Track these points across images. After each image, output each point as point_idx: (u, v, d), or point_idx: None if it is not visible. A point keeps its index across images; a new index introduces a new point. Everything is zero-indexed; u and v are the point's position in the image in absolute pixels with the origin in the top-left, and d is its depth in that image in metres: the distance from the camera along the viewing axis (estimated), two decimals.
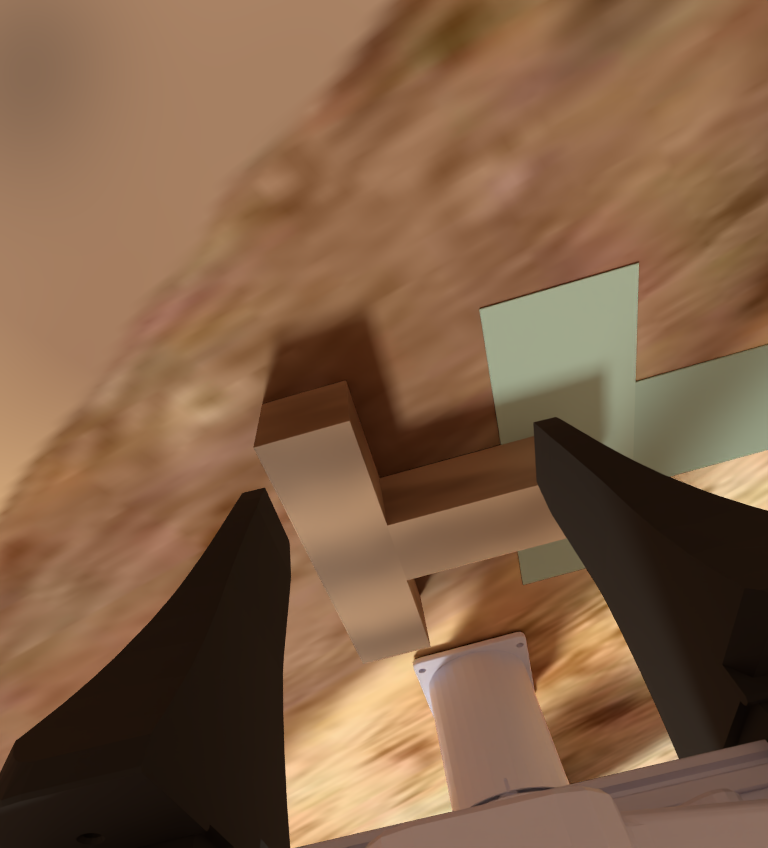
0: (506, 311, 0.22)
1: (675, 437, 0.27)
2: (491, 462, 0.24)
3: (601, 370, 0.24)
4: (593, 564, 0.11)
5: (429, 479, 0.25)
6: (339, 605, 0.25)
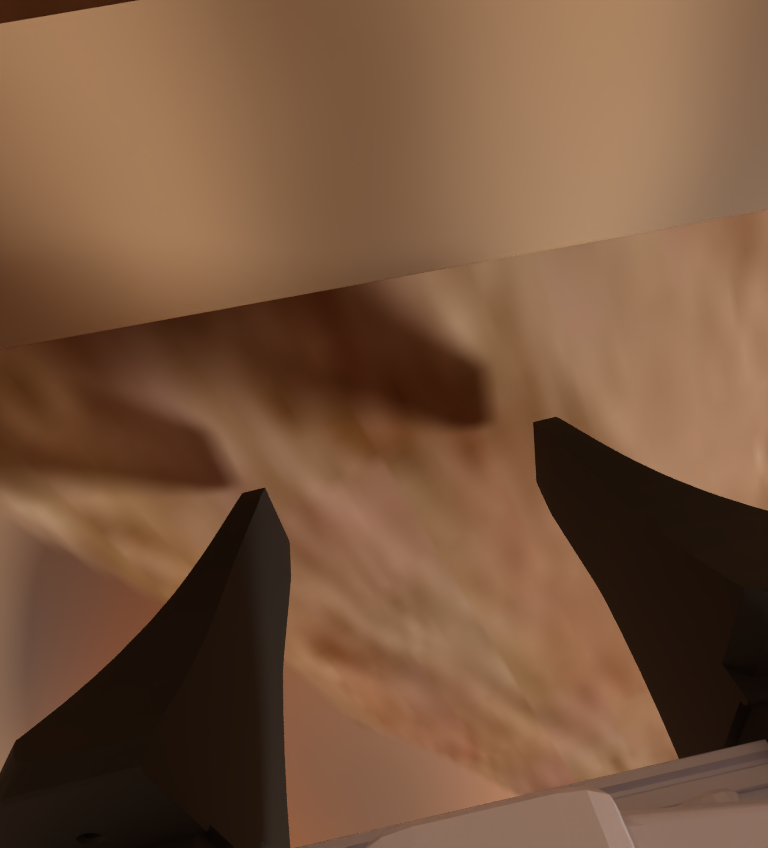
0: None
1: None
2: None
3: None
4: (593, 564, 0.11)
5: None
6: (525, 236, 0.08)
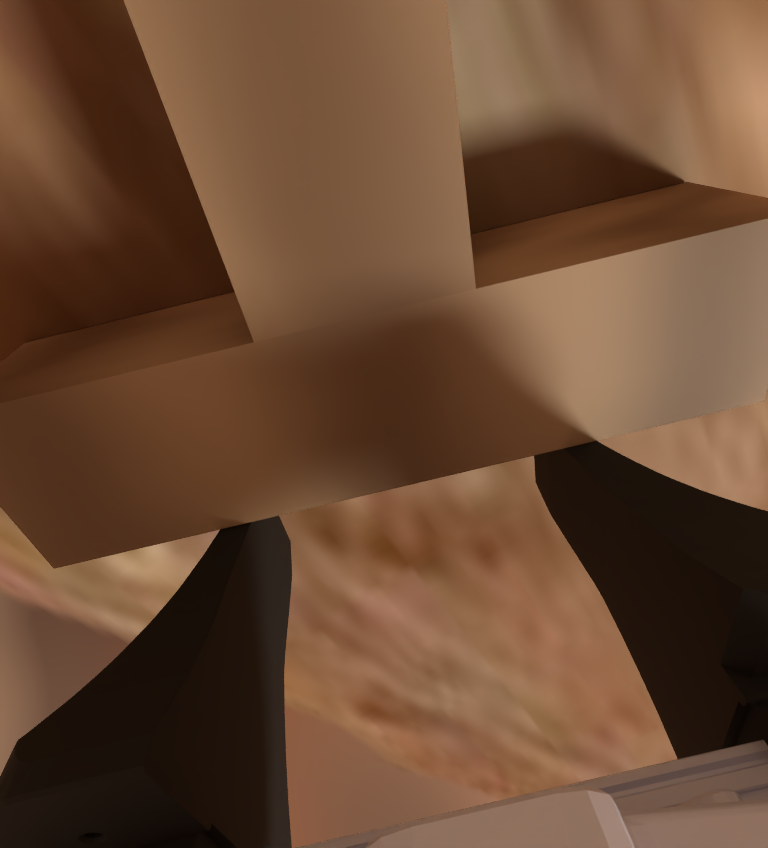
0: None
1: None
2: None
3: None
4: (592, 564, 0.11)
5: None
6: (518, 448, 0.11)
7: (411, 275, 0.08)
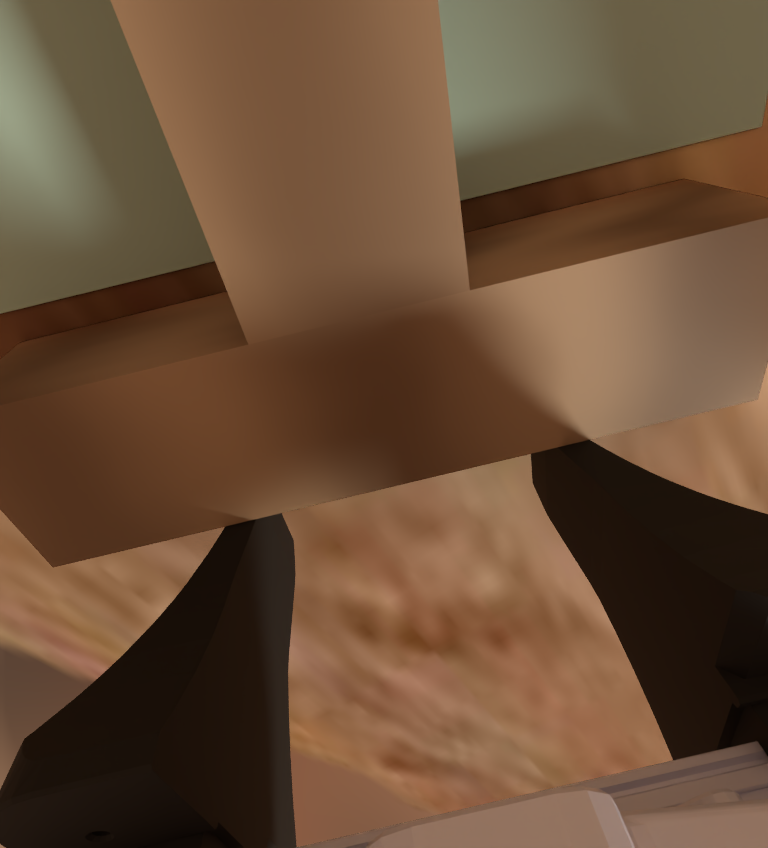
0: None
1: None
2: None
3: None
4: (588, 565, 0.11)
5: None
6: (512, 447, 0.11)
7: (405, 277, 0.08)
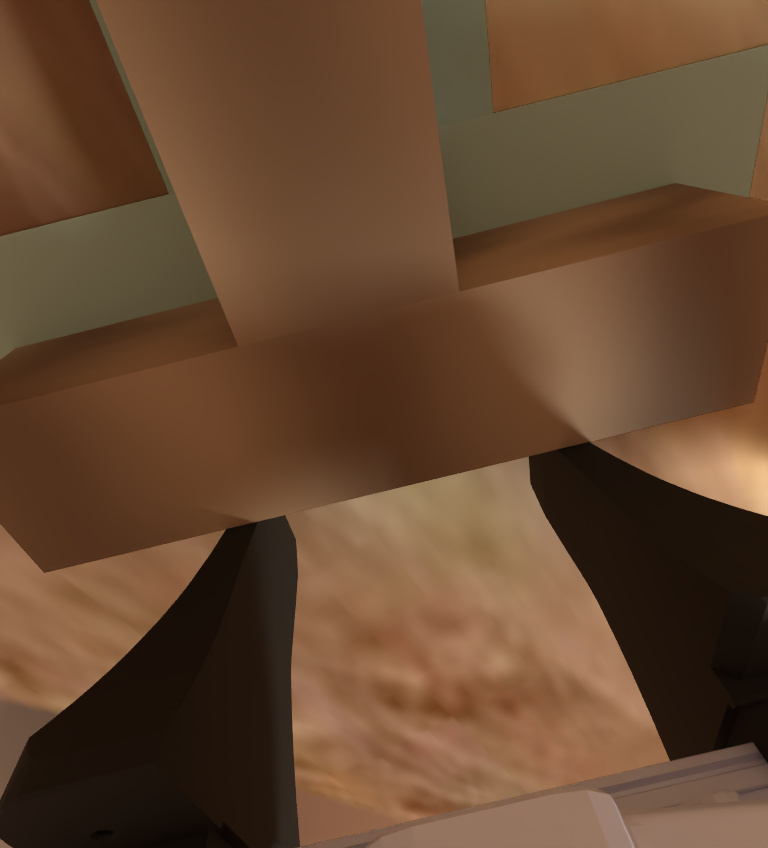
0: None
1: None
2: None
3: (148, 285, 0.11)
4: (586, 566, 0.11)
5: None
6: (506, 451, 0.11)
7: (394, 279, 0.08)
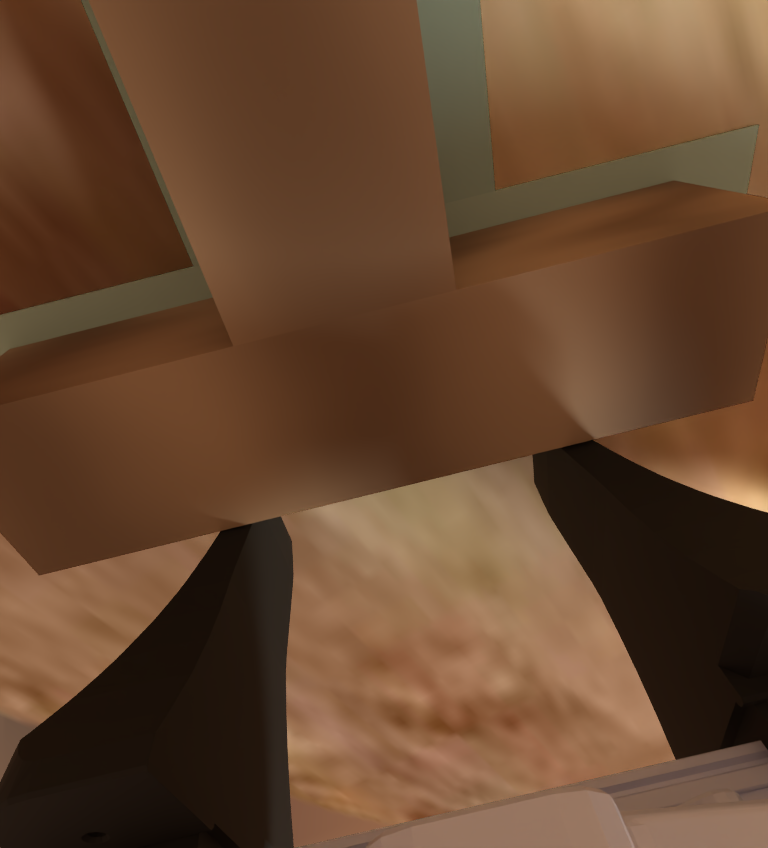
0: None
1: None
2: None
3: None
4: (590, 565, 0.11)
5: None
6: (504, 450, 0.11)
7: (390, 277, 0.08)
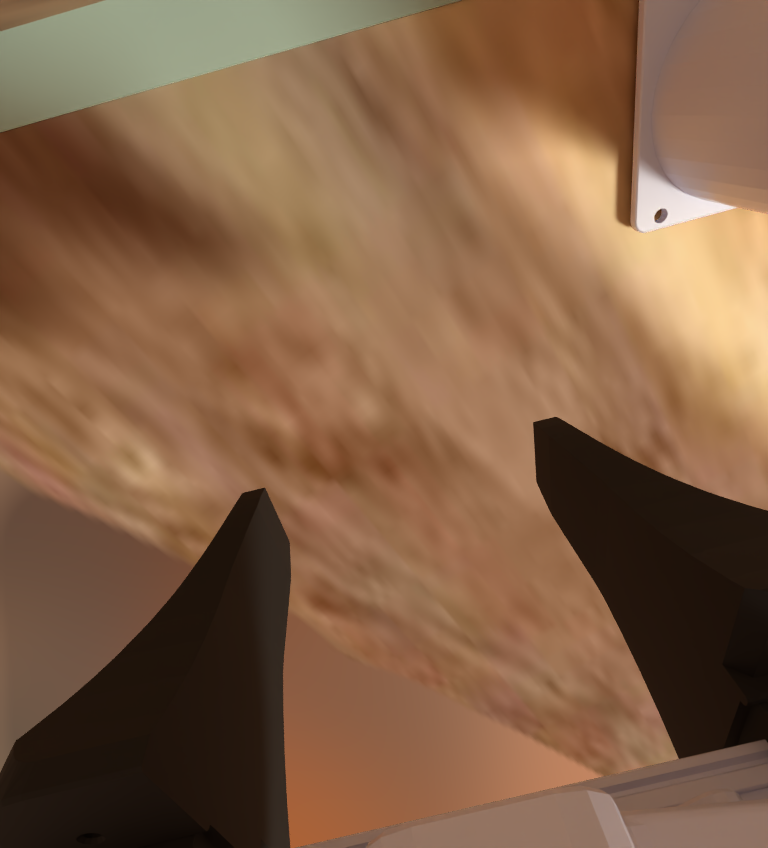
0: None
1: None
2: None
3: None
4: (593, 564, 0.11)
5: None
6: None
7: None
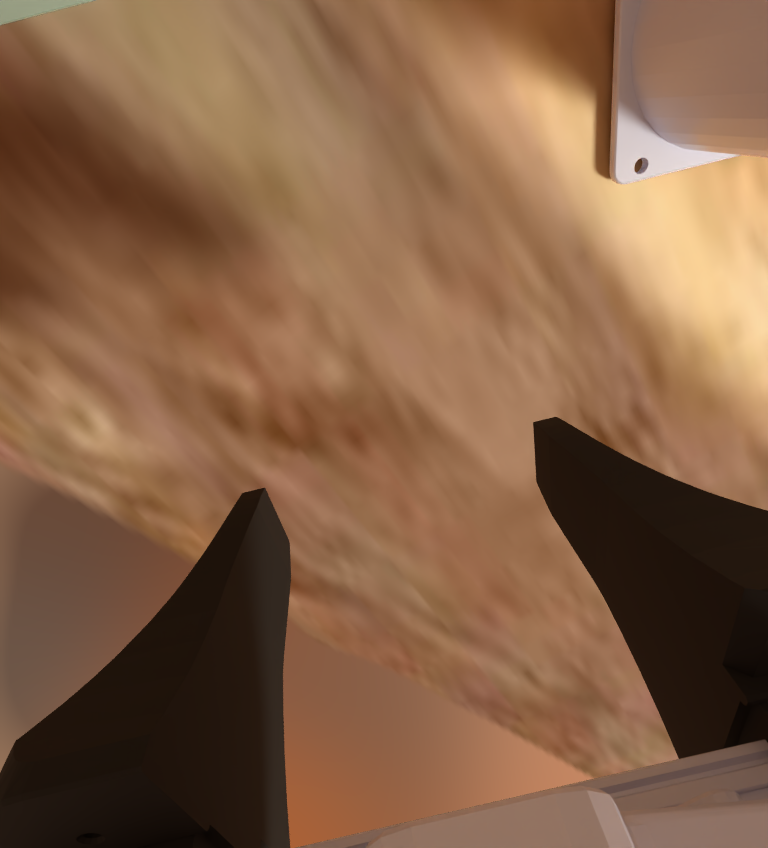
0: None
1: None
2: None
3: None
4: (593, 564, 0.11)
5: None
6: None
7: None
